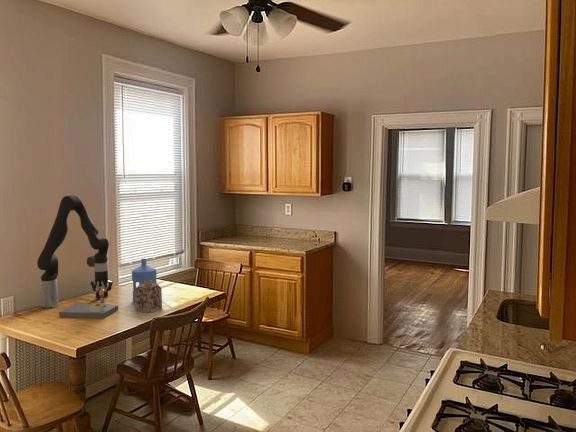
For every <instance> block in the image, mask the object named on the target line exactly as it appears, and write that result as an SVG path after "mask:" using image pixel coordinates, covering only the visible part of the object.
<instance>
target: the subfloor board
mask: <svg viewBox="0 0 576 432" xmlns="http://www.w3.org/2000/svg"><path fill="white" fill-rule="evenodd" d="M93 304H94V303H93ZM93 304H92V303H75V304H73V305H70V306H68V307H66V308H64V309H63V310H60V311H59V312H58V316H59V318H79V319H80V318H82V319H84V318H85V319H105V318H107V317H108V316H110V315H112V314H114V313H115V312H117V311H118V310H119V305H118V304H103V308H104V310H103V311H101V312H90V306H91V305H93Z"/></svg>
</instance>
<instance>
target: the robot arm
mask: <svg viewBox="0 0 576 432" xmlns="http://www.w3.org/2000/svg"><path fill="white" fill-rule="evenodd" d="M72 211H75V212H76V214H77V216H78V217H79V221H80V226H81V228H82V230H83V232H84V233H85V235H86V236H87V239H88V241H89V245H90V247H91V248H92V249H93V250H96V251H97V250H98V251H97V252H96V253H95V254H94V255H93V256H94V260H95V265H94V267H93V268H94V280H91V281H90V285H91V287H92V291H95V295H96V294H97V298H100V297H99V290H100V287H101V288H102V289H104V291H105V292H104V299H107V298H108V296H109V291H111V290H112V286H113V284H114V281H113V280H109V268H108V256H107V255H108V252H109V245H110V244H109V243H110V242H109V239H108V238H107V237H105V236H100V237H98V234H99V232H100V231H99V229H98V227H96V225H95V223H94V222H93V220H92V219H91V217H90V216H89V214H88V211H87V209H86V207H85V205H84V202H83V200H82V199H81V198H80V196H79V195H65V196H63V197H62V199H61V201H60V203H59V205H58V210H57V214H56V215H55V216H56V217H55V219H54V222H53V225H52V227H51V229H50V233H49V235H48V237H47V240H46V243H45V244H44V247H43V249H42V251H41V253H40V254H39V256H38V259H37V261H36V263H37V264H36V265H37V268H38V269H39V270H41V271H44V272H43V274H41V277H40V283H41V291H40V295H39V296H40V307H41V308H43V307H44V308H43V309H50V307H52V308H55V307H58V306H59V289H58V275H59V260H58V257H57V255H55V252H56V250H58V248H59V247H60V246H61V245H62V244H63V243H64V241H65V239H66V237H67V234H68V231H69V225H68V217H69V214H70V213H71V212H72ZM95 283H96V284H97V286H96V285H95Z"/></svg>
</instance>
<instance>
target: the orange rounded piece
mask: <svg viewBox="0 0 576 432" xmlns="http://www.w3.org/2000/svg"><path fill="white" fill-rule="evenodd" d="M104 292H105V291H104V289H103V288H101V289H100V290H99V297H100V299H99V300H100V304H104V303H105V299H106V298H104Z"/></svg>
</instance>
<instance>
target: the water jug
mask: <svg viewBox="0 0 576 432" xmlns="http://www.w3.org/2000/svg"><path fill="white" fill-rule="evenodd" d="M140 260H141V262H140V263H141V265H139V266H137V267H135V268H133V269H132V270H131V280H132V286H133V287H132V288H133V289H132V302H133V303H134V304H135V289H136V288H137V283H138V285H140V284H143V283H144V282H145V281H152V283H157V282H158V281H157V275H158V273H157V269H156V268H155V267H152V266H150V265H148V264H147V258H141V259H140ZM157 284H158V283H157Z"/></svg>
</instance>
